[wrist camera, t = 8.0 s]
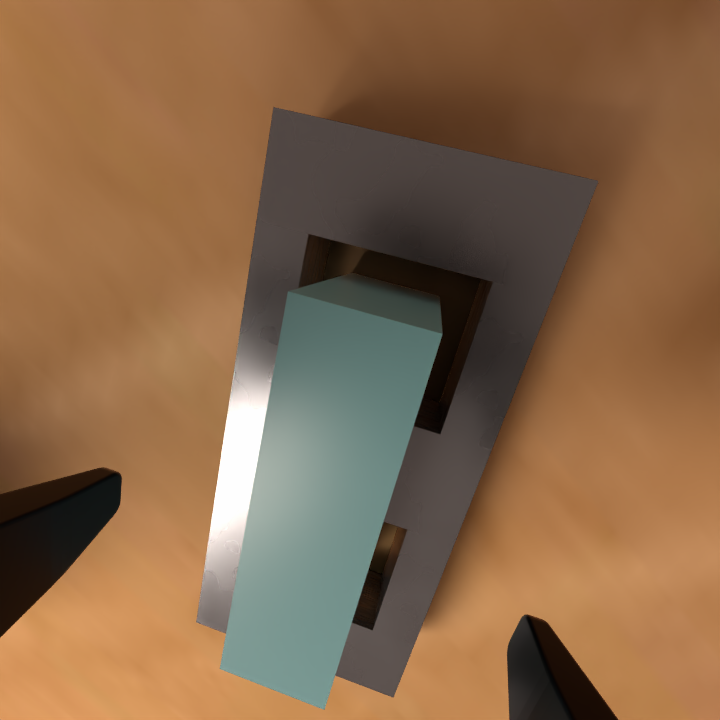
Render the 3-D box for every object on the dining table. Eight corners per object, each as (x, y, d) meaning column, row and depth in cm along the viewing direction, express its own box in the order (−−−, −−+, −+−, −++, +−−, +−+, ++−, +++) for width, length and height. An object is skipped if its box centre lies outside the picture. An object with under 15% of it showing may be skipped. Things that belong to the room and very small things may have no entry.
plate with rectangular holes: (399, 634, 17) (393, 697, 15) (228, 572, 18) (196, 622, 15) (564, 194, 11) (598, 180, 9) (304, 134, 12) (273, 107, 10)
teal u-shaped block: (363, 546, 16) (324, 709, 10) (294, 522, 16) (219, 669, 11) (439, 296, 13) (442, 334, 7) (351, 272, 13) (288, 291, 7)
